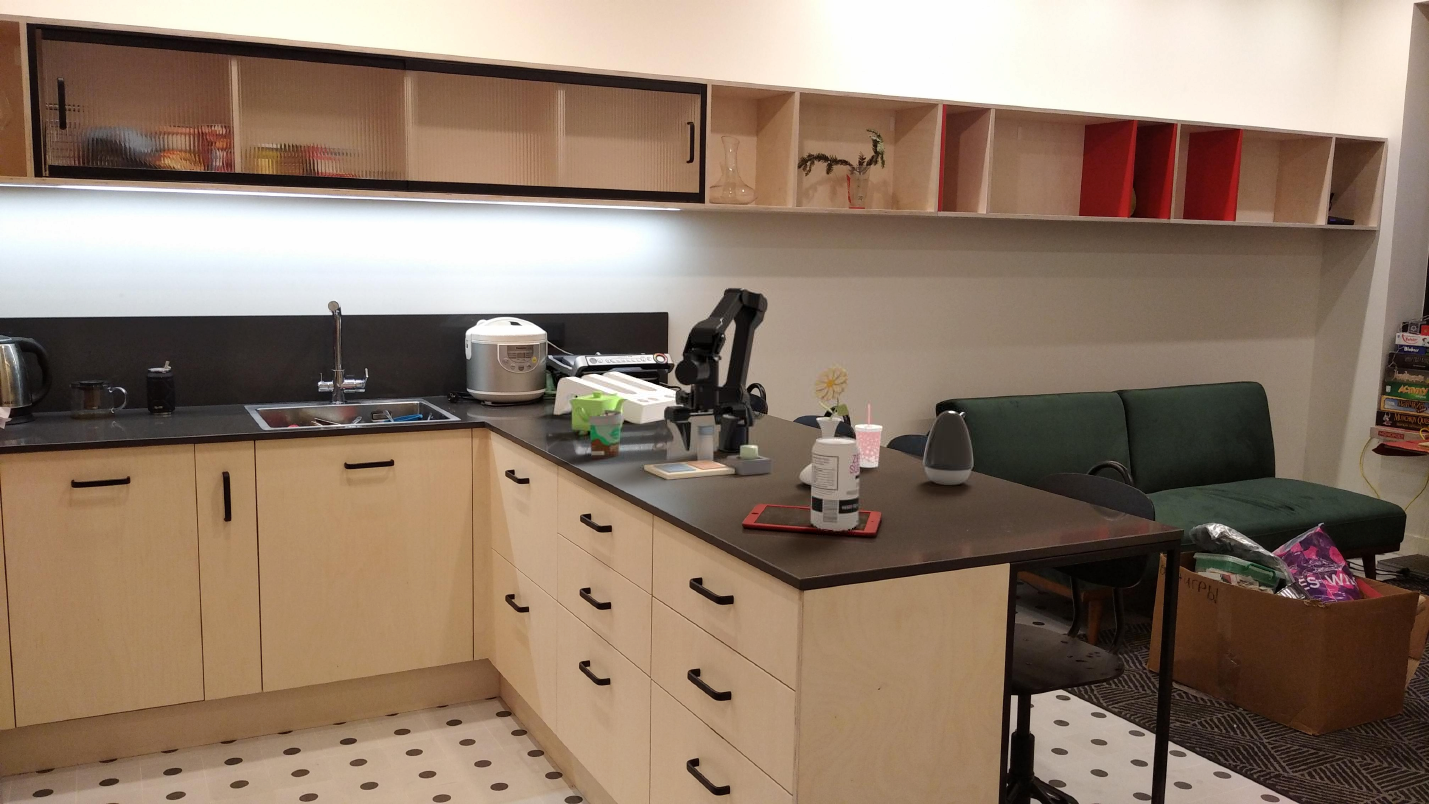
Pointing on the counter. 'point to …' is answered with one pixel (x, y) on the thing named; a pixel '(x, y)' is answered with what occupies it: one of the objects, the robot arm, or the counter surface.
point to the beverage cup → (868, 442)
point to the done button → (748, 452)
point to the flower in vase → (827, 389)
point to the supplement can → (835, 483)
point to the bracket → (641, 395)
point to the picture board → (689, 469)
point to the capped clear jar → (705, 442)
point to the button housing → (749, 465)
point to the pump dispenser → (948, 450)
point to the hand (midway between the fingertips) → (705, 449)
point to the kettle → (592, 409)
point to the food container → (605, 434)
